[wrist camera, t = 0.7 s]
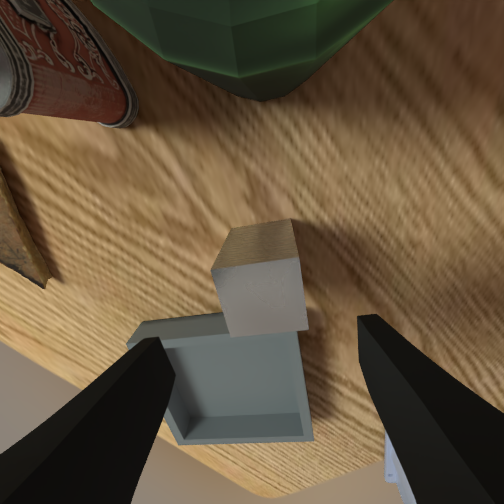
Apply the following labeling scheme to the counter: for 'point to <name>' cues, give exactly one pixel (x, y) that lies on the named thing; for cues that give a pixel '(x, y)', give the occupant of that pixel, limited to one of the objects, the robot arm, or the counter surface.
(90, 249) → the counter surface
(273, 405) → the tray
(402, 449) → the robot arm
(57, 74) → the lighter
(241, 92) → the potion bottle
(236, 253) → the aluminium block
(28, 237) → the shard
